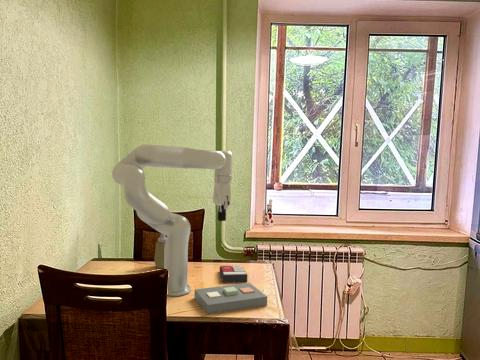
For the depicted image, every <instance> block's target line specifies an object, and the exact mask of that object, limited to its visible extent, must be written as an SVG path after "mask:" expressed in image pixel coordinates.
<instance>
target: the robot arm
mask: <svg viewBox="0 0 480 360" xmlns="http://www.w3.org/2000/svg"><path fill="white" fill-rule="evenodd" d="M146 167H150V168H151V167H152V168H170V169H203V170H214V174H213V175H214V176H213V177H214V179H213V180H214V185H213V195H212V196H213V197H212V203H213V204H215V205H216V207H217V221H218V222H224V221H226V220H227V210H228V209H229V206H230V205H231V201H232V200H231V198H232V197H231V196H232V192H231V191H232V190H231V189H232V188H231V184H232V179H233V178H232V176H233V174H232V173H233V172H232V171H233V154H232V152H231V151H230V150H229V151H228V150H212V149H211V150H209V149H207V150H206V149H197V148H192V147H185V146H184V147H183V146H176V145H175V146H173V145H158V144H140V145H138V146H137V147H136V148H134V149H132V150H131V152H129V153H128V154H127V155H126V156H125V157H123V158H122V159H121V160H120V161H119V162H117V164H115V166H114V167H113V169H112V172H111V177H112V179H113V181H114V182H115V183H116V184H118V185H121V186H123V194H124V200H125V202H126V203H127V204H128V205H129V206H130V208H132V209H133V210H134V211H136V215H137V217H138V218H139V220H141V221H142V222H144V223H145V224H147V225H148V226H150V227H151V228H152V229H154V230H155V231H157V232H158V233H160V234H161V233H162V234H164V235H165V236H166V238H167V240H166V243H165V248H164V269H168V271H169V277H168V295H167V296H169V297H178V296H179V297H180V296H184V295H188V294H190V293H191V292H192V288H191V286H190V285H189V284H188V269H189V268H188V267H189V266H188V261H189V260H188V259H189V257H188V255H189V252H188V251H189V240H190V235H191V223H190V222H189V220H188V218H186V217H185V216H183V215H180V214H178V213H173V212H172V211H170V208H169V207H168V206H167V204H166V203H164V202H163V201H161V200H160V199H159V198H157V197H156V196H154V195H153V194H152V193H151V192H149V190H148V189H147V188H146V173H145V171H144V168H146ZM164 269H163V270H164Z"/></svg>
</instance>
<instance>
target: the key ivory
mask: <svg viewBox="0 0 480 360" xmlns="http://www.w3.org/2000/svg"><path fill="white" fill-rule="evenodd" d="M206 295H207V296H208V297H209V298H216V297H221V295H220V294H219V293H218V292H217V291H216V292H208V293H206Z"/></svg>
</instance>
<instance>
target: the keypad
mask: <svg viewBox="0 0 480 360" xmlns="http://www.w3.org/2000/svg"><path fill="white" fill-rule="evenodd" d="M227 287H235V288H236V289H237V290H238V295H231V296H226V295H225V294H224V293H223V288H227ZM247 287H250V288H251V289H252V290H254V293H246V294H243V293H242V292H241V291H240V290H239V288H247ZM216 291H217V292H218V293H219V294H220V295H221V297H216V298H209V297H208V296H207V295H206V293H208V292H216ZM194 299H195V301H196V302H197V303H198V304H199V305H200V307H201V308H202V309H203V310H204V312H205V313H206V314H207V315H212V314H219V313H224V312H225V313H226V312H232V311H239V310H245V309H251V308H258V307H259V308H260V307H265V306H267V305H268V296H267V295H266V294H265V293H264V292H262V291H261V290H260V289H258V288H257V286H254V285H253V284H252V283H251V282H242V283H235V284H228V285H220V286H213V287H205V288H204V287H203V288H196V289H194Z"/></svg>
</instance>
